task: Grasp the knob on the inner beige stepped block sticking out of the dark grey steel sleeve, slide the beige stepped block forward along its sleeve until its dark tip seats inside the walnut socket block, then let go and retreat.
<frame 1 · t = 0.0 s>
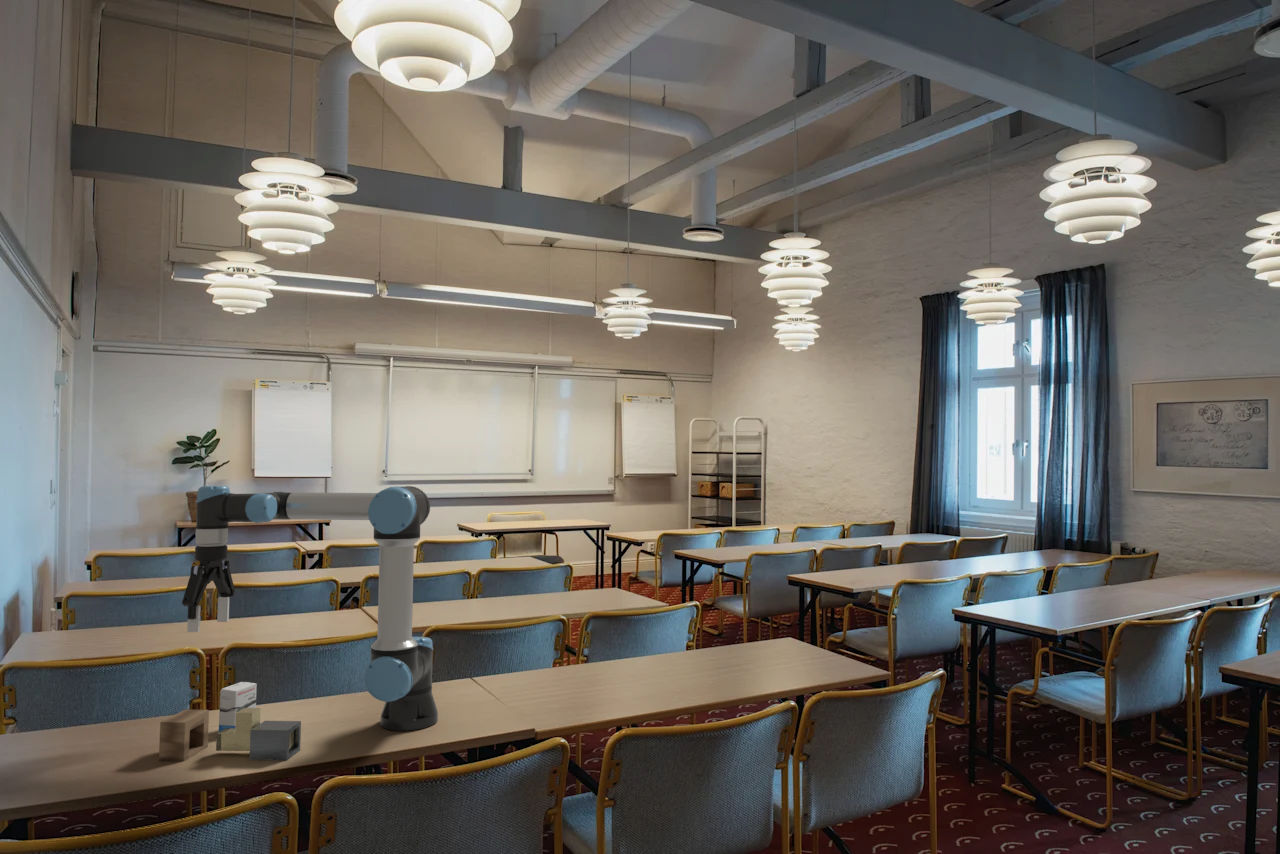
hand: (208, 626, 208), 28 cm above the table, fingers open, 13 cm apart
socket: (183, 753, 193), on the table
sleeve: (275, 754, 193), on the table
ink box: (237, 731, 210), on the table
beige stepped block: (255, 729, 193), point 6 cm above the table, slide at 0.0 cm
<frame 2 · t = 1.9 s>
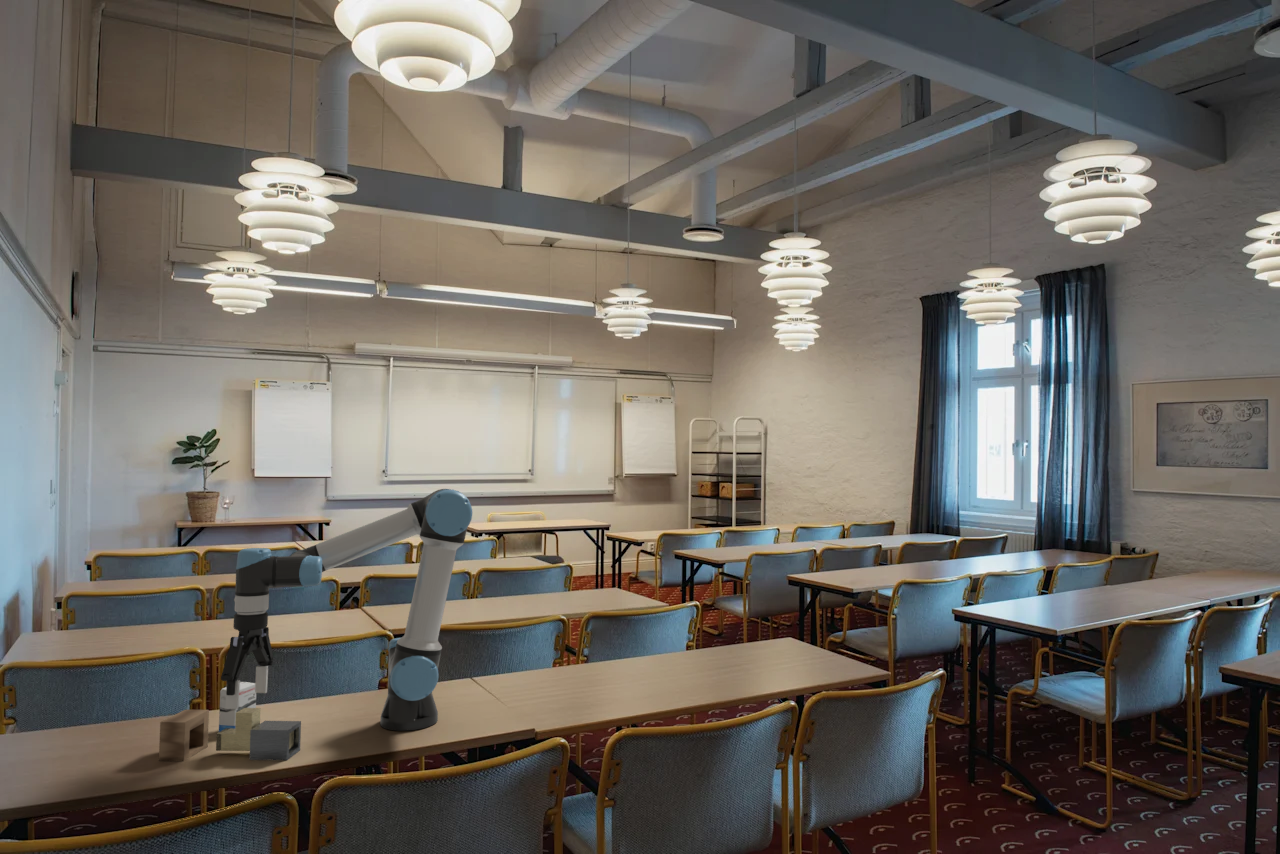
hand: (246, 700, 193), 13 cm above the table, fingers open, 13 cm apart
nothing on the table moved.
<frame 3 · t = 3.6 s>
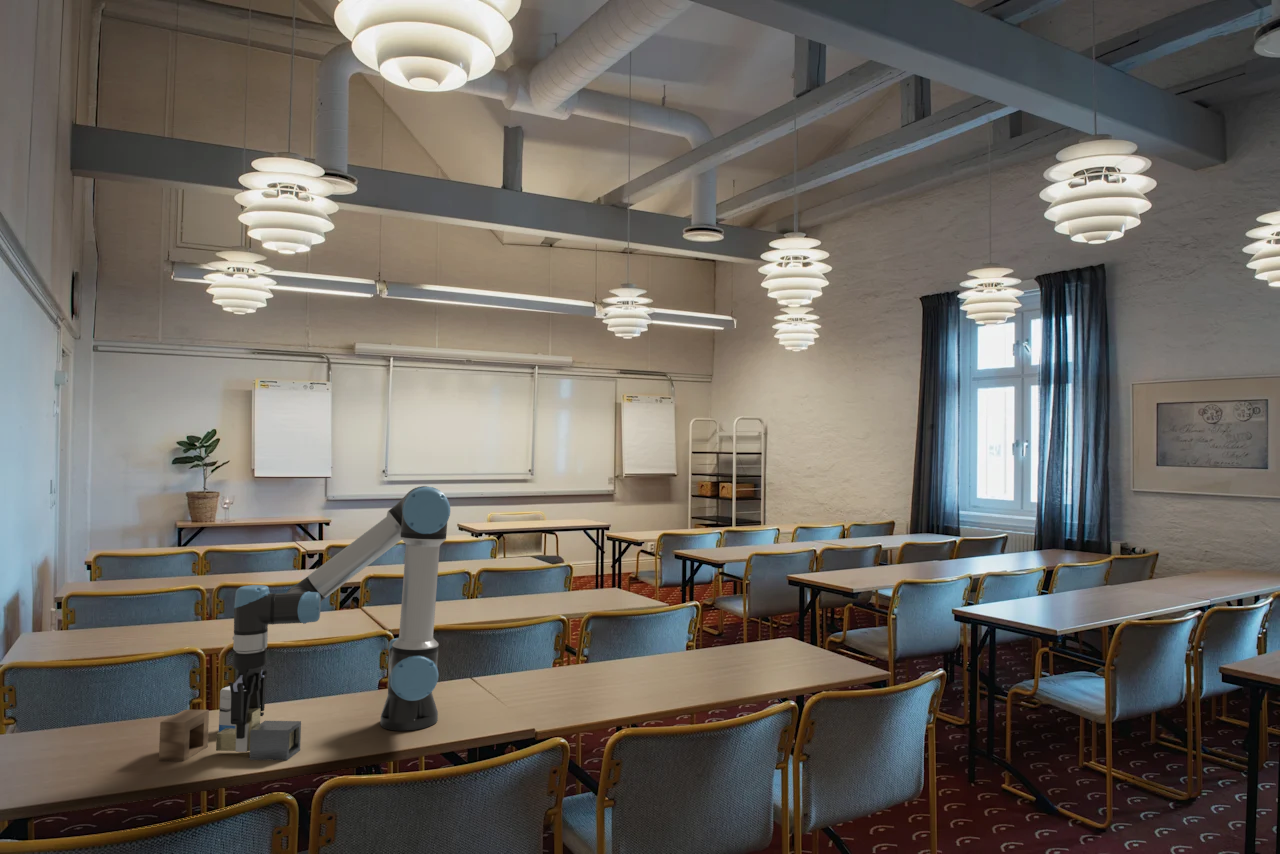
hand: (247, 747, 193), 2 cm above the table, fingers closed on beige stepped block, 4 cm apart
beige stepped block: (255, 729, 193), point 6 cm above the table, slide at 0.0 cm, touching gripper
everything else where it was.
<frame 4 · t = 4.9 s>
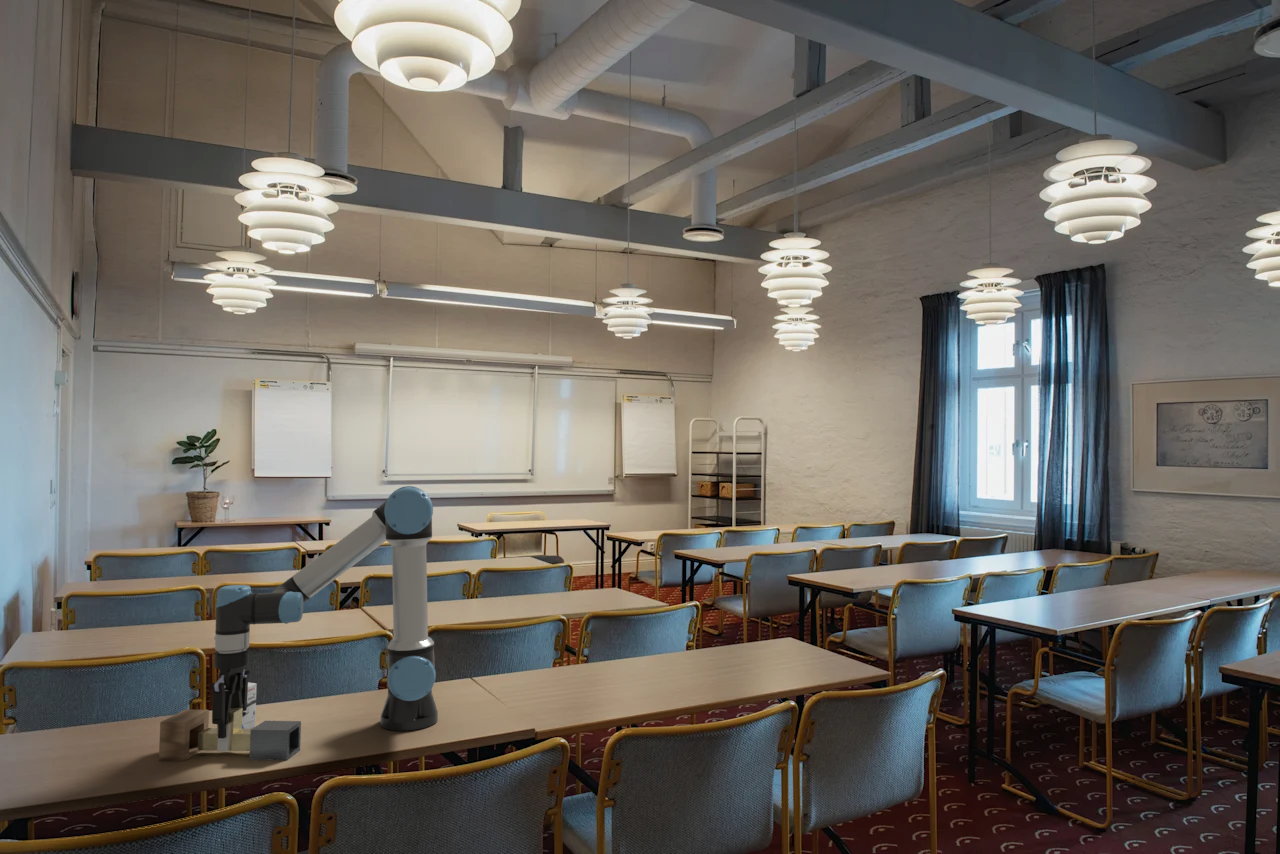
hand: (228, 747, 193), 2 cm above the table, fingers closed on beige stepped block, 4 cm apart
beige stepped block: (237, 729, 193), point 6 cm above the table, slide at 4.5 cm, touching gripper
everything else where it was.
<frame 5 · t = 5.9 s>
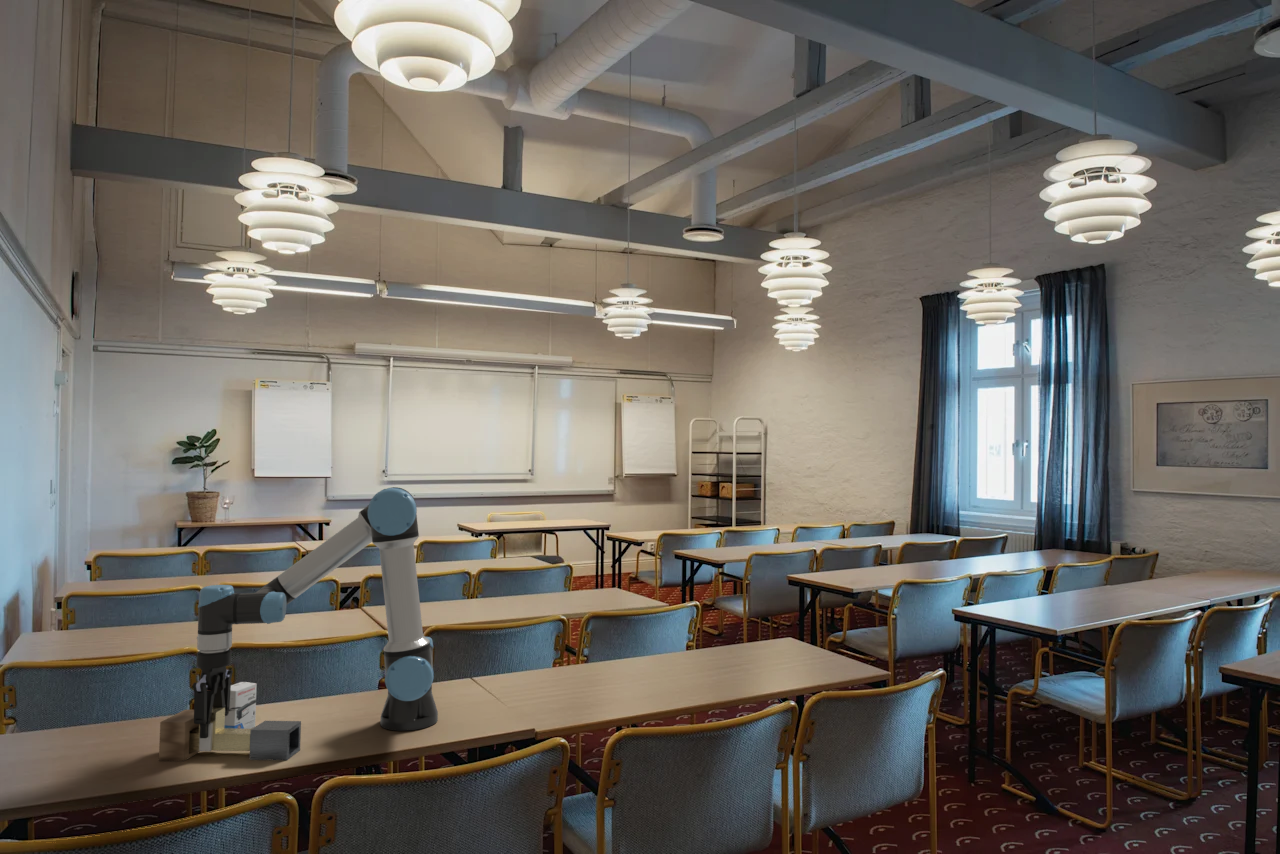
hand: (211, 747, 193), 2 cm above the table, fingers closed on beige stepped block, 4 cm apart
beige stepped block: (219, 728, 193), point 6 cm above the table, slide at 8.8 cm, touching gripper
everything else where it was.
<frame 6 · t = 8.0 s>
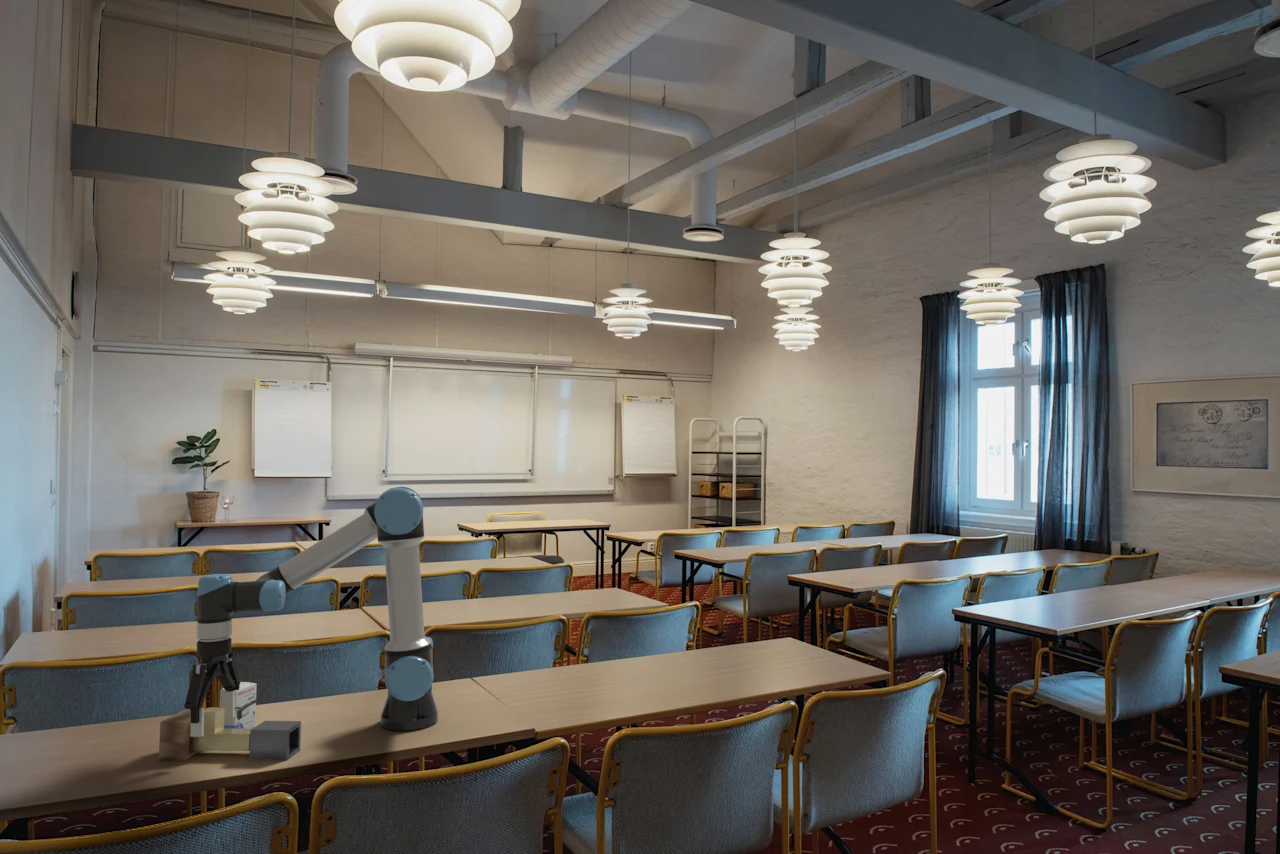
hand: (213, 726, 194), 6 cm above the table, fingers open, 13 cm apart
beige stepped block: (219, 728, 193), point 6 cm above the table, slide at 9.0 cm
everything else where it was.
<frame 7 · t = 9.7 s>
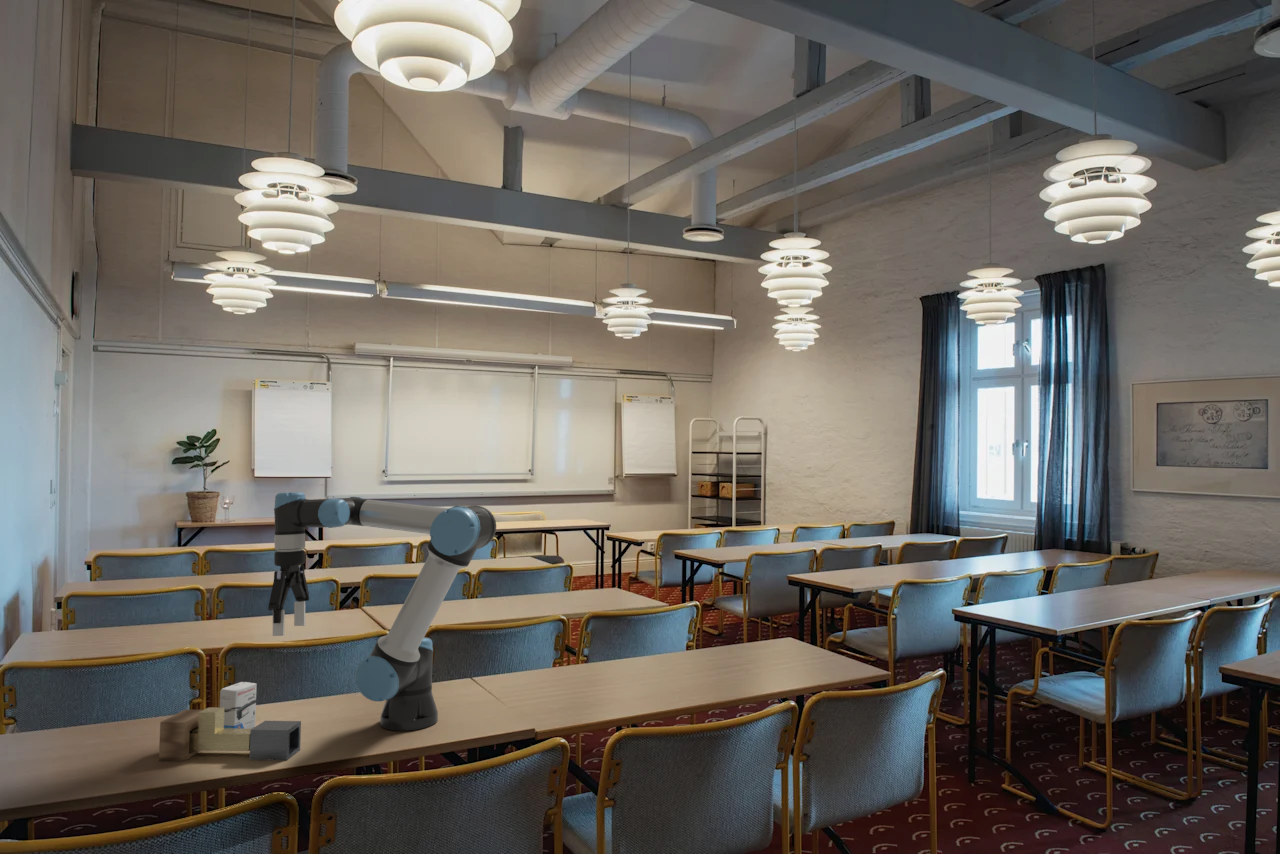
hand: (289, 630, 211), 26 cm above the table, fingers open, 13 cm apart
nothing on the table moved.
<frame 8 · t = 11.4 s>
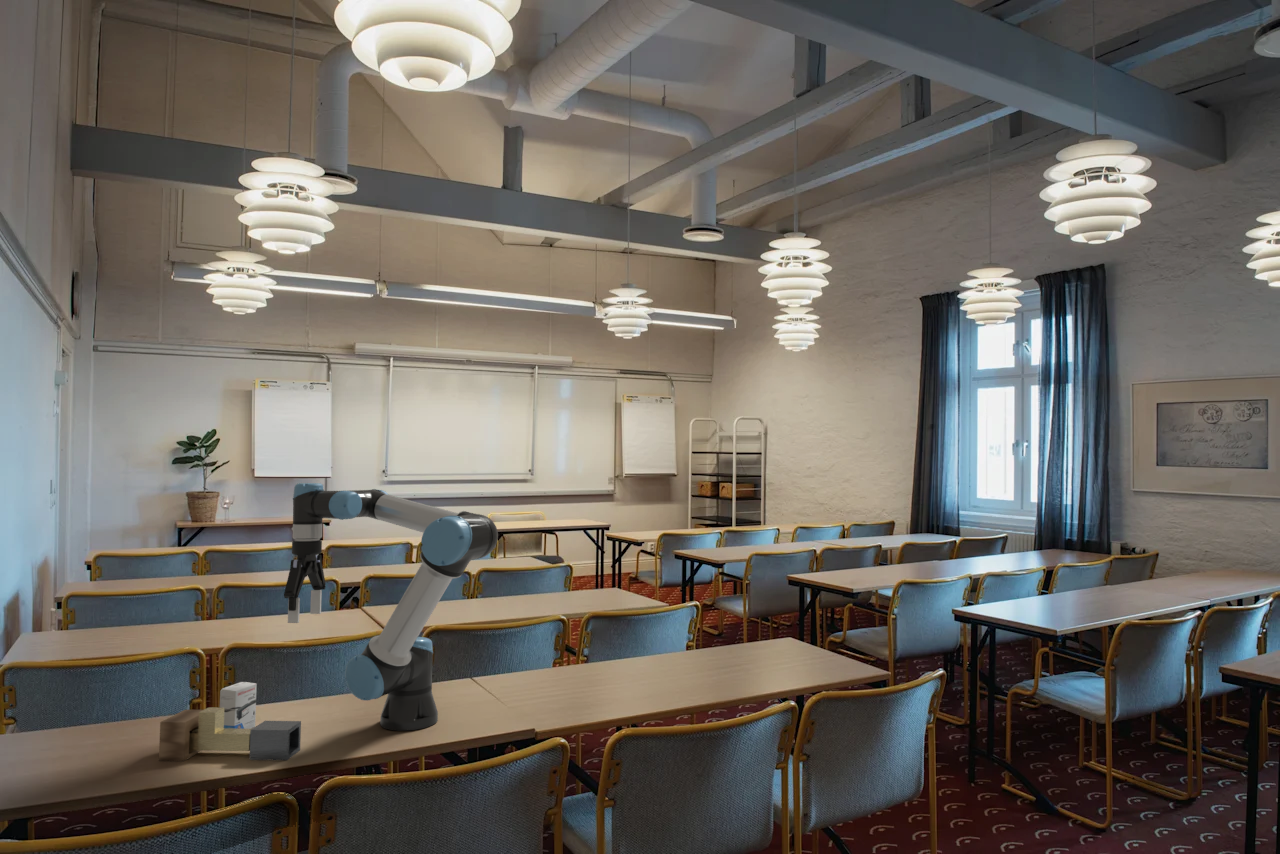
hand: (304, 618, 216), 29 cm above the table, fingers open, 13 cm apart
nothing on the table moved.
at the end: beige stepped block slide at 9.0 cm; the gripper is holding nothing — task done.
